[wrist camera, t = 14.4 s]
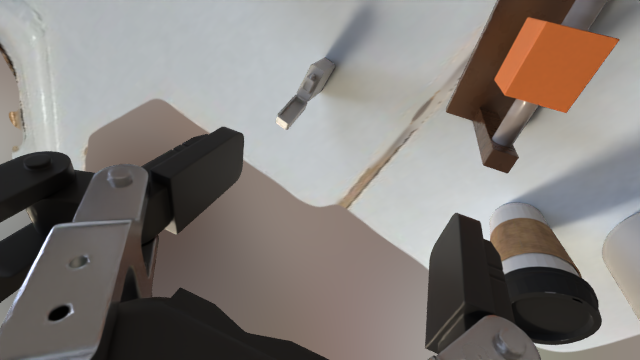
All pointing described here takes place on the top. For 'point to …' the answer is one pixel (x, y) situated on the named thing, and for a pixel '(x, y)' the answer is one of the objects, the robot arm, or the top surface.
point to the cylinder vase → (625, 259)
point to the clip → (552, 63)
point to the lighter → (305, 92)
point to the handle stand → (487, 58)
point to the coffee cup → (542, 278)
